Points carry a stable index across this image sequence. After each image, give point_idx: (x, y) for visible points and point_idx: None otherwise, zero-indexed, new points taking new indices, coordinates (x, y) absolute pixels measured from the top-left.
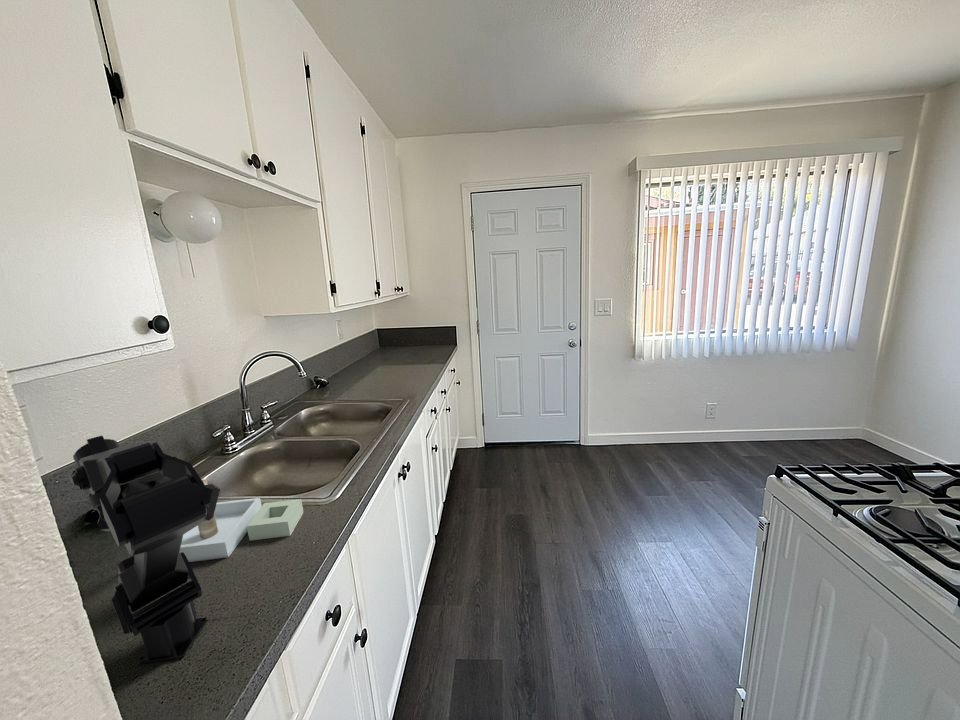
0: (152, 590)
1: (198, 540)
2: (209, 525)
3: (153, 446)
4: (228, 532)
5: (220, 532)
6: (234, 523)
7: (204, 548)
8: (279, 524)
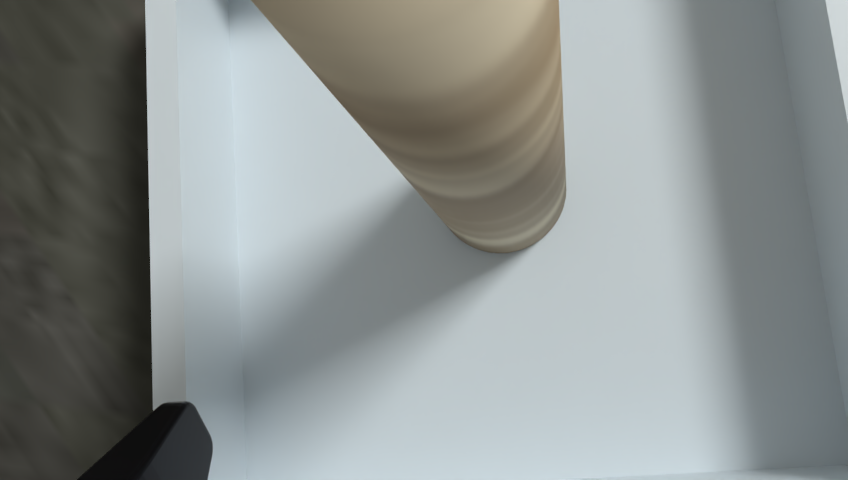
0: None
1: (460, 271)
2: (546, 202)
3: None
4: (673, 180)
5: (591, 174)
6: (641, 55)
7: None
8: None
